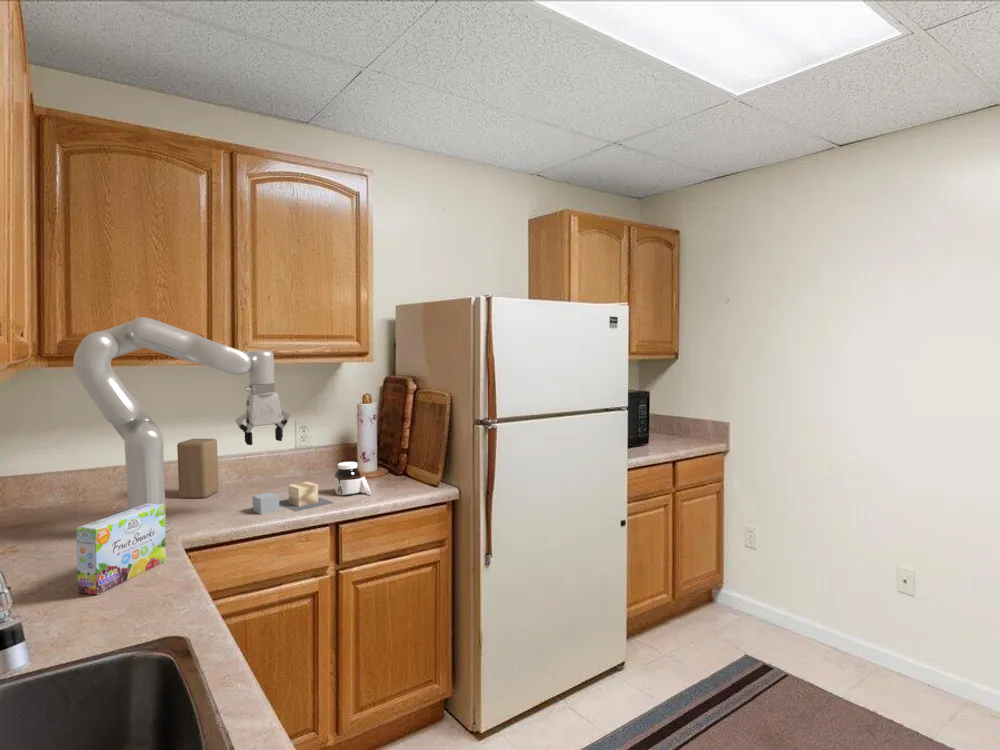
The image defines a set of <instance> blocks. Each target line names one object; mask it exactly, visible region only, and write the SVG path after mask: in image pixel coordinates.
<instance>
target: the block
mask: <svg viewBox="0 0 1000 750" xmlns="http://www.w3.org/2000/svg"><path fill="white" fill-rule="evenodd" d="M176 447H177V448H176V449H177V451H176V452H177V469H178V471H177V473H178V475H177V476H178V497H179V498H182V499H206V498H207V497H210V496H212V495H214V494H217V493H218V492H219V488H220V487H219V463H218V462H219V461H218V440H217V439H216V438H190V439H187V440H183V441H180V442H178V443H177V446H176Z"/></svg>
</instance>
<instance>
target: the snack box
mask: <svg viewBox="0 0 1000 750" xmlns="http://www.w3.org/2000/svg"><path fill="white" fill-rule="evenodd" d="M165 509H166V503H165V504H148V503H147V504H144V505H141V506H138V507H135V508H132V509H130V510H128V509H127V510H124V511H121V512H118V513H115V514H113V515H110V516H107V517H104V518H101V519H98V520H95V521H92V522H89V523H87V524H84V525H83V524H82V525H81V526H78V527H76V528H75V531H76V534H75V537H76V568H77V569H76V570H77V572H76V573H77V576H76V577H77V594H83V593H90V594H97V593H100V592H102V591H104V590H106V589H108V588H110V587H112V588H114V587H116V586H118V585H120V584H122V583H124V582H126V581H128V579H129V580H131V579H132V577H133V578H135V577H137V576H139V575H140V574H142V573H145V572H147V571H149V570H151V569H153V568H155V567H157V566H159V565H161V564H163V563H162V562H164V563H166V561H167V553H166V552H167V551H166V547H167V546H166V545H167V543H166V532H165ZM160 563H161V564H160ZM158 564H159V565H158ZM156 565H157V566H156ZM154 566H155V567H154ZM130 578H131V579H130ZM119 583H120V584H119ZM117 584H118V585H117ZM115 585H116V586H115ZM113 586H114V587H113ZM110 589H111V588H110ZM108 590H109V589H108ZM106 591H107V590H106ZM104 592H105V591H104ZM102 593H103V592H102ZM90 594H89V595H90ZM100 594H101V593H100Z"/></svg>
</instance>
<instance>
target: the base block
mask: <svg viewBox="0 0 1000 750" xmlns="http://www.w3.org/2000/svg"><path fill="white" fill-rule="evenodd" d="M287 488H288V499H289V503H291V504H294V505H296V506H304V505H308V504H313V503H318V497H319V485H318V484H316V483H313V482H310V481H303V482H298V483H293V484H289V485H288V487H287Z"/></svg>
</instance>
